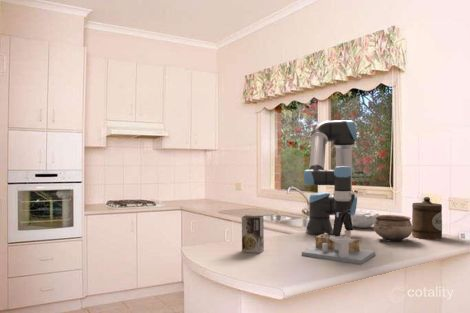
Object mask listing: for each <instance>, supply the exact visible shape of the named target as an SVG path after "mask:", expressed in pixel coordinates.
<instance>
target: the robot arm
mask: <svg viewBox="0 0 470 313" xmlns="http://www.w3.org/2000/svg"><path fill="white" fill-rule="evenodd" d="M309 140H310V144H311V146H310V157H309V167H308V169H305V170H304V172H303V182H304V183H303V184H305V185H308V186H334V187H333V188H334V190H333V194H331V193H330V192H328V191H326V192H324V191H323V192H316V193H312V194H310V195H309V199H308V200H309V201H308V206H309V208H308V212H309V214H308V219H309V220H308V222H307V226H306V229H305V233H307V234H308V235H315V236H319V235H321V234H323V235H324V233H328V235H331V236H342V235H341V232H342V229H343V225H344V229H345V230H344V236H346V237H348V238H352V231H354V229H353V228H354V227H353V225H352V220H351V216H353V215H354V214H355V212H356V211H357V205H358V195H356V194H355V191H354V189H352V188H353V185H352V184H353V166H352V165H353V153H352V152H353V150H352V149H353V147H354V146H355V144H356V143H357V142H358V134H357V128H356V123H355V121H353V120H349V119H347V120H346V119H344V120H325V121H323V122H321V123H319V124H317V125H316V126H315V127H314V128H313V129H312V131H311V133H310V137H309ZM328 142H330V143H332V145H333V146H334V148H335V167H334V168H333V169H325V166H326V165H325V163H326V148H327V147H326V145H327V144H328ZM331 216H334V219H333V220H334V221H333V226H332V222H331V220H330V218H331ZM335 250H339V243H336V242H335Z"/></svg>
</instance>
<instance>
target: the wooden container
mask: <svg viewBox="0 0 470 313" xmlns="http://www.w3.org/2000/svg"><path fill="white" fill-rule="evenodd" d="M411 206H412V210H411V211H412V215H411V224H412V228H413V230H412V233H411V236H412V237H413V238H417V239H423V240H440V239H442V238H443V212H442V210H443V205H442V203H441V204H440V203H436V202H435V203H434V202H432V201H431V198H430V197H429V196H425V197H423V201H422V202H413V203H412V205H411Z"/></svg>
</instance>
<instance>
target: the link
mask: <svg viewBox="0 0 470 313" xmlns="http://www.w3.org/2000/svg"><path fill="white" fill-rule="evenodd" d="M334 236H335V235H332V234H330V235H328V237H324V235H323V234H321V235H315V246H316V248H322V244H323V243H327V244H328V249H335V242H334V241H332V240H330V237H334ZM351 239H353V242H351V243H349V251H350V252H358V251H360V249H361V248H360V247H361V246H360V239H359V238H354V237H353V238H352V237H351Z"/></svg>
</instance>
